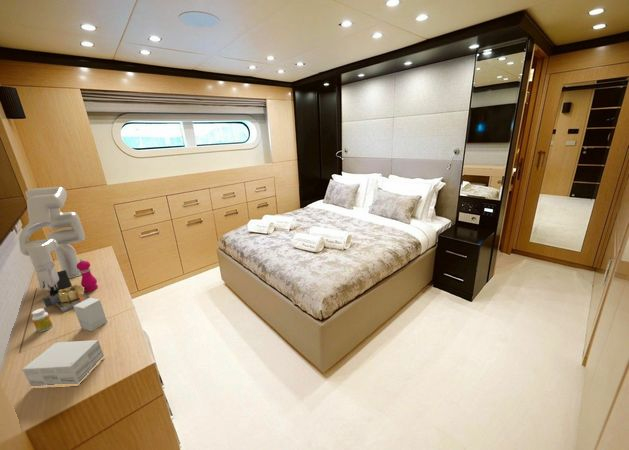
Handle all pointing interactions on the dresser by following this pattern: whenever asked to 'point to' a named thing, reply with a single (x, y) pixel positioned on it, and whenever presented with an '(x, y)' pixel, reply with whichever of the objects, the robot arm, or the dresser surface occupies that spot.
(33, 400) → the dresser surface
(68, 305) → the flange base
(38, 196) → the robot arm
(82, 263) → the pepper mill
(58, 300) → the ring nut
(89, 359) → the supplement box
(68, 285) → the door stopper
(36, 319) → the supplement bottle
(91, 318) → the supplement box
